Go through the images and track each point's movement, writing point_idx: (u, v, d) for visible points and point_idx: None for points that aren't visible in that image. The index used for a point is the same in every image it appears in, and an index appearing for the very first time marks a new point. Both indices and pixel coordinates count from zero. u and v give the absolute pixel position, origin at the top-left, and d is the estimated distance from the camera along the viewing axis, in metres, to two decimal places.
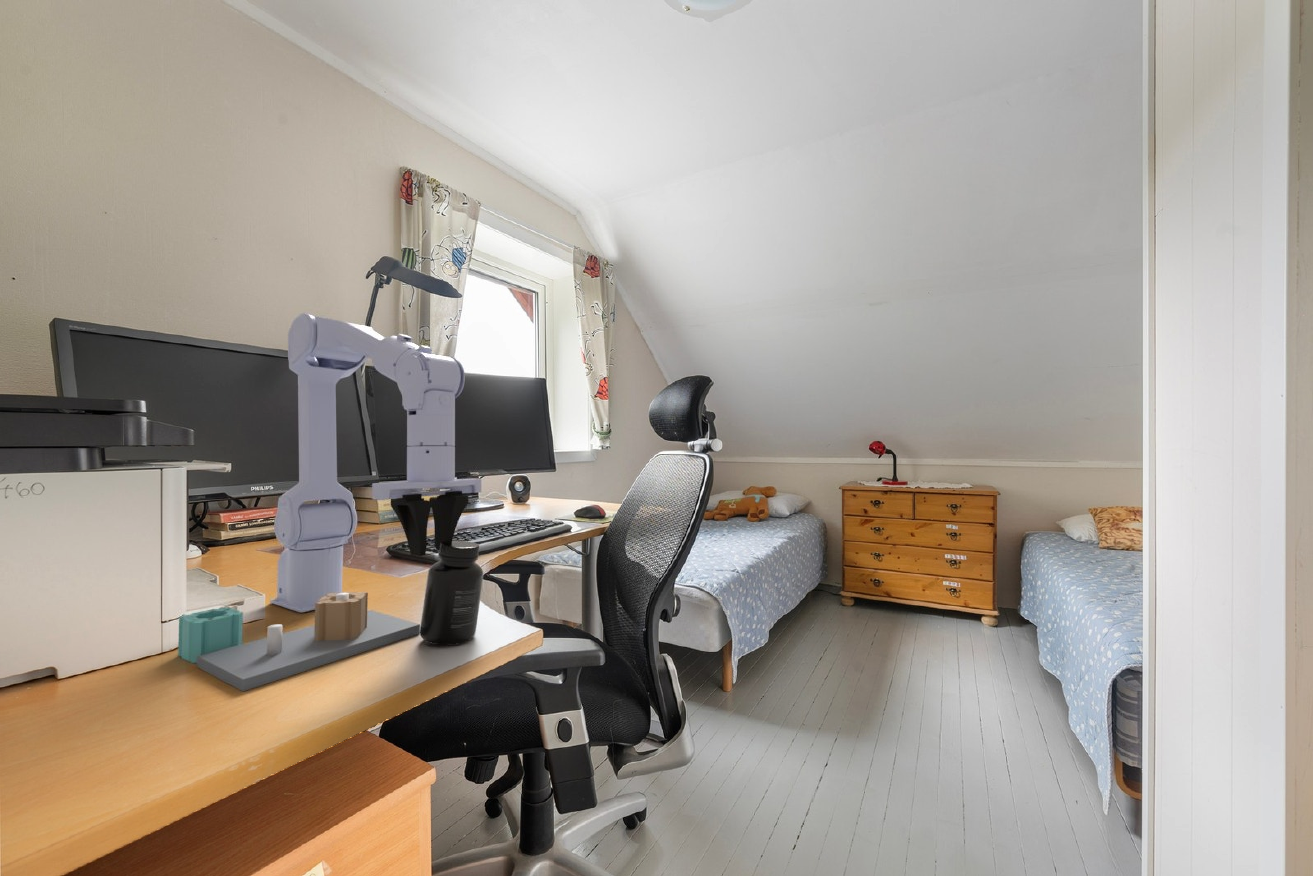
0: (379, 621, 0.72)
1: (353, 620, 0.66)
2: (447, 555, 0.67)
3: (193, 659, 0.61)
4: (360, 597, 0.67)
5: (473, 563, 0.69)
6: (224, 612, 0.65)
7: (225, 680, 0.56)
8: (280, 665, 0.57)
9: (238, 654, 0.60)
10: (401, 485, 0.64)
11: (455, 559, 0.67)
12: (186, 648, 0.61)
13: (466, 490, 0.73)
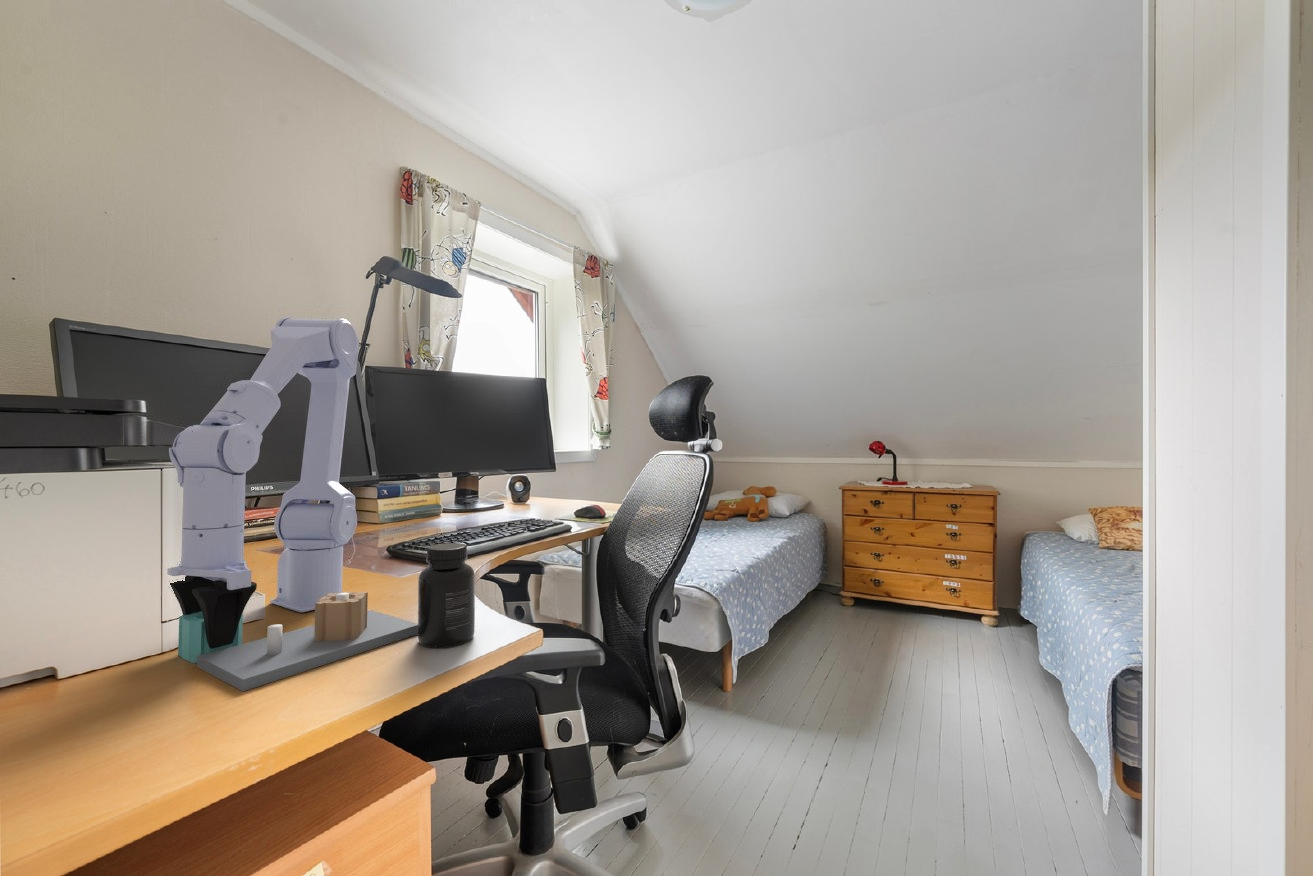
0: (379, 621, 0.72)
1: (353, 620, 0.66)
2: (434, 559, 0.67)
3: (193, 659, 0.61)
4: (360, 597, 0.67)
5: (462, 564, 0.69)
6: None
7: (225, 680, 0.56)
8: (280, 665, 0.57)
9: (238, 654, 0.60)
10: None
11: (442, 562, 0.67)
12: (186, 648, 0.61)
13: None
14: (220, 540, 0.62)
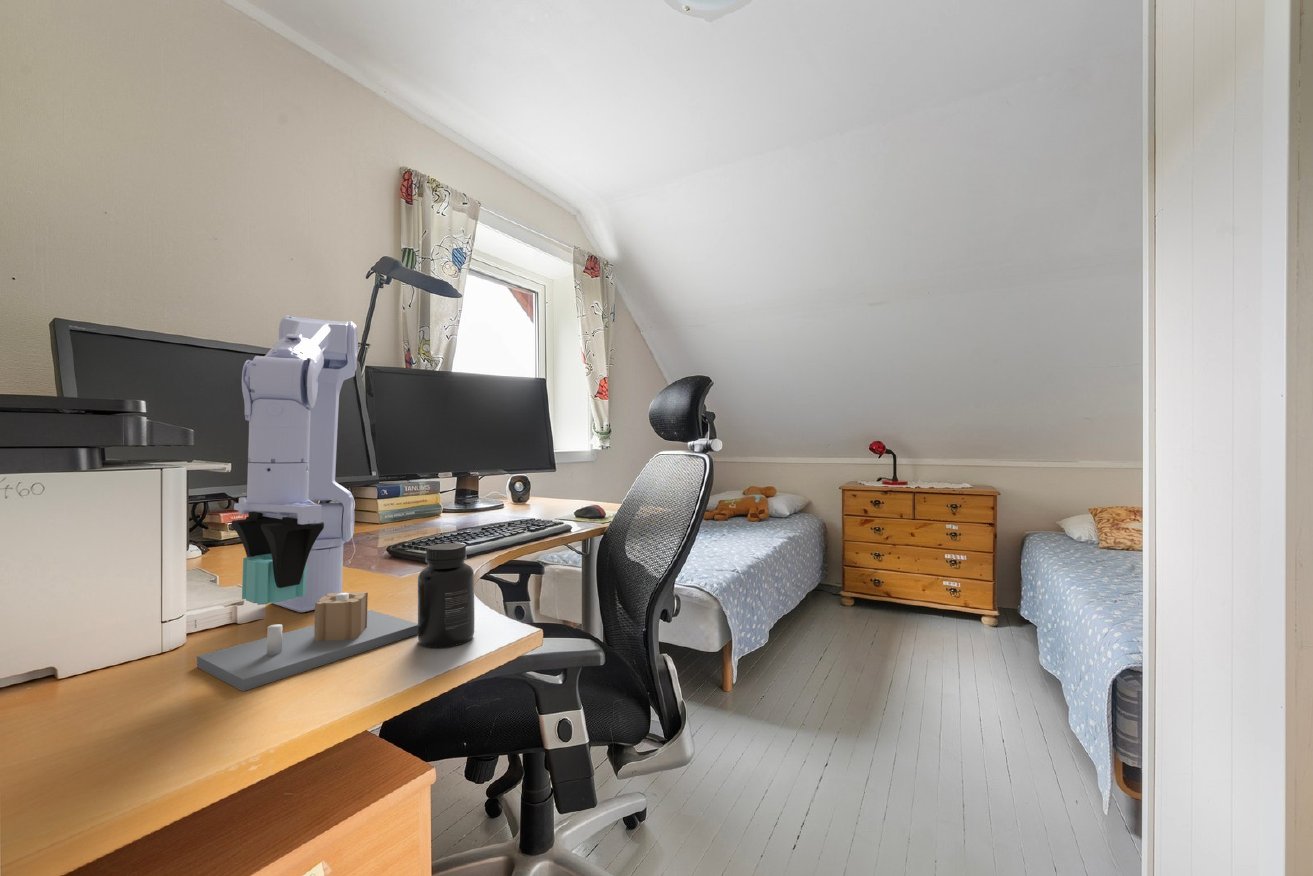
0: (379, 621, 0.72)
1: (353, 620, 0.66)
2: (433, 558, 0.67)
3: (259, 600, 0.58)
4: (360, 597, 0.67)
5: (461, 563, 0.69)
6: None
7: (225, 680, 0.56)
8: (280, 665, 0.57)
9: (238, 654, 0.60)
10: None
11: (441, 562, 0.67)
12: (251, 590, 0.59)
13: None
14: (287, 476, 0.59)
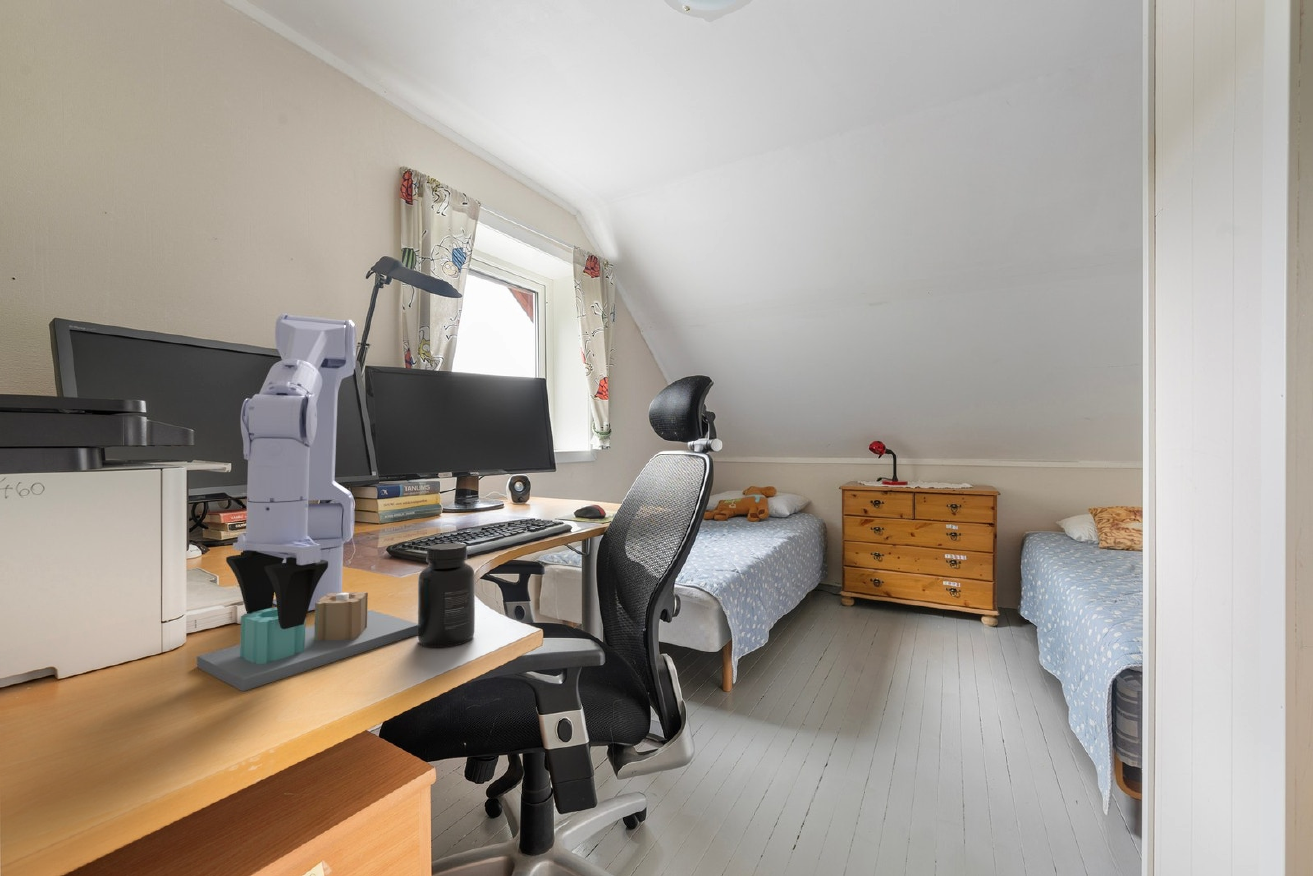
0: (379, 621, 0.72)
1: (353, 620, 0.66)
2: (433, 558, 0.67)
3: (258, 660, 0.58)
4: (360, 597, 0.67)
5: (461, 563, 0.69)
6: None
7: (225, 680, 0.56)
8: (280, 665, 0.57)
9: (238, 654, 0.60)
10: None
11: (441, 561, 0.67)
12: (250, 648, 0.58)
13: None
14: (287, 514, 0.59)
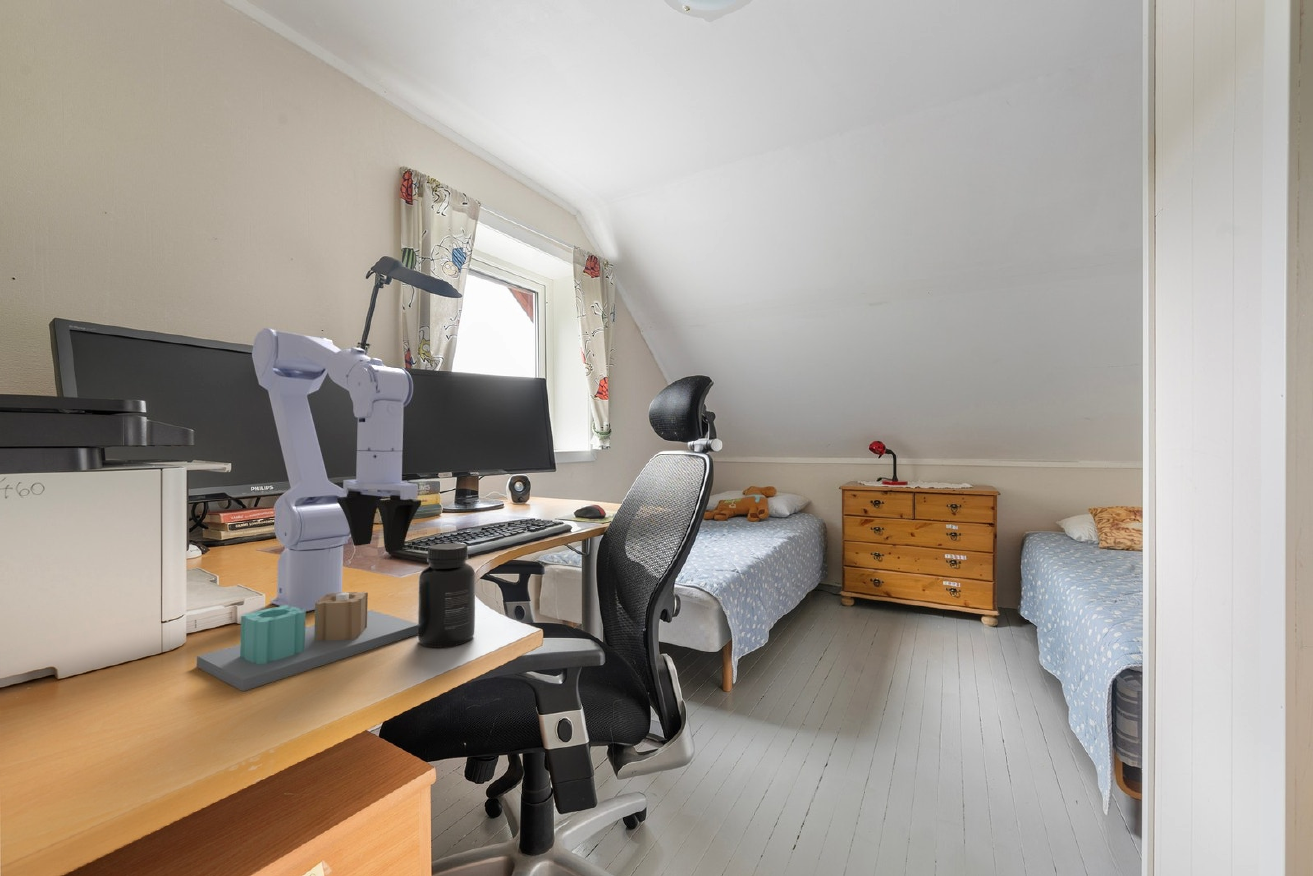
0: (379, 621, 0.72)
1: (353, 620, 0.66)
2: (434, 558, 0.67)
3: (258, 660, 0.58)
4: (360, 597, 0.67)
5: (462, 564, 0.69)
6: (286, 611, 0.62)
7: (225, 680, 0.56)
8: (280, 665, 0.57)
9: (238, 654, 0.60)
10: (349, 483, 0.77)
11: (442, 561, 0.67)
12: (250, 648, 0.58)
13: (399, 495, 0.73)
14: (389, 461, 0.74)
